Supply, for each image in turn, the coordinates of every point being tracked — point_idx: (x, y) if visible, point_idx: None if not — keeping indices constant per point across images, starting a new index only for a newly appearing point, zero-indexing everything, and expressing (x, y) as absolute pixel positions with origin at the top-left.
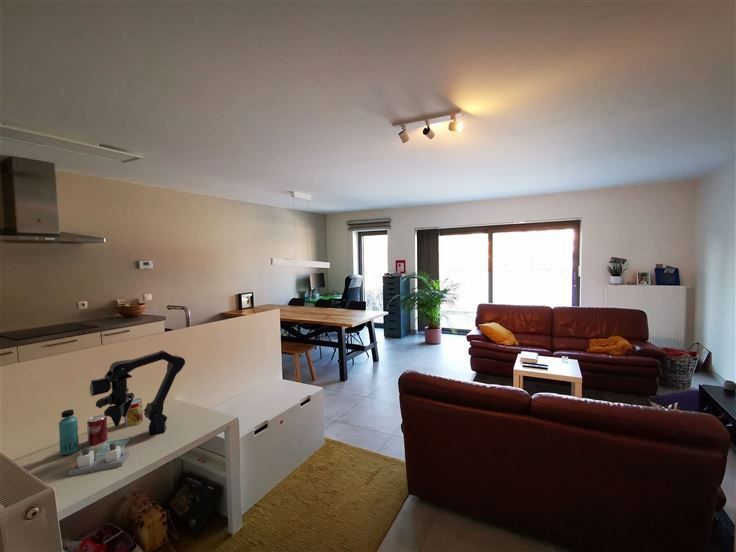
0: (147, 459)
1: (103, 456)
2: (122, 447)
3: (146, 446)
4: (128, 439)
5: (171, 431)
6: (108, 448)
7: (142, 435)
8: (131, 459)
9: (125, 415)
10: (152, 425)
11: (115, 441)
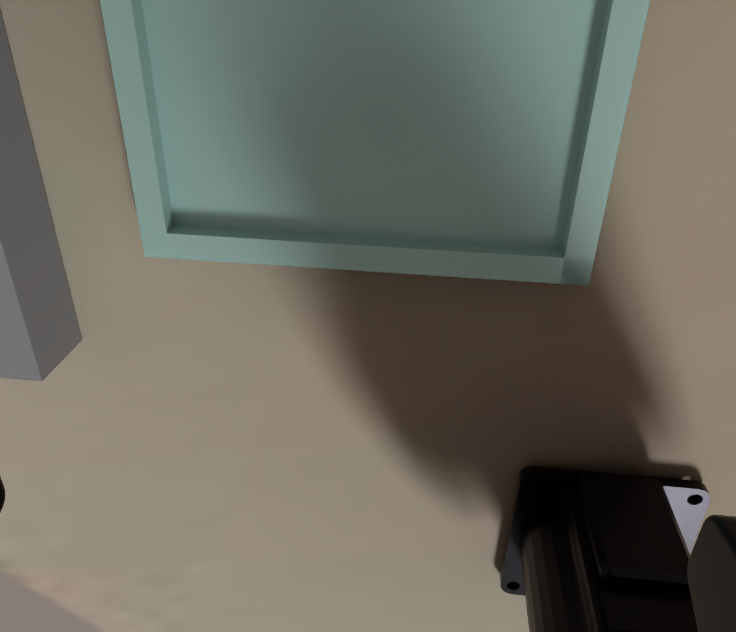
0: None
1: None
2: (262, 248)
3: (272, 463)
4: (503, 273)
5: None
6: (350, 14)
7: (622, 389)
8: None
9: (697, 626)
10: (563, 617)
11: (590, 56)
